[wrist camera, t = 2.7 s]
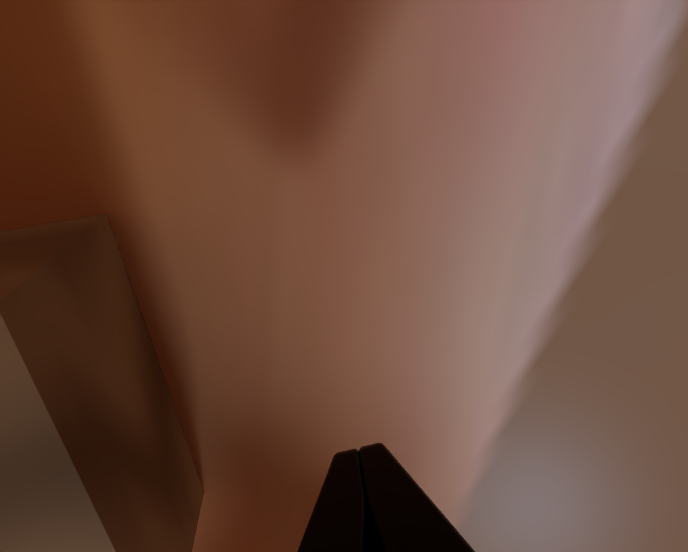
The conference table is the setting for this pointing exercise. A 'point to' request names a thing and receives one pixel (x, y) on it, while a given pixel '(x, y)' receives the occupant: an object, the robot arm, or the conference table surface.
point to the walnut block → (85, 403)
